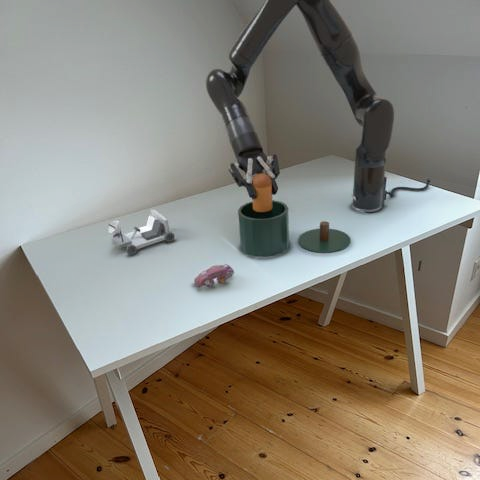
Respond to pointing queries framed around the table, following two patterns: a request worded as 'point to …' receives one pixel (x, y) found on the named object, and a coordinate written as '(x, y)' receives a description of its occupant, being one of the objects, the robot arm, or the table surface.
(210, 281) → the video game controller
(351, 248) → the table surface
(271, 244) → the pot
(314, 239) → the lid
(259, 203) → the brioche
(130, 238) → the toy car
